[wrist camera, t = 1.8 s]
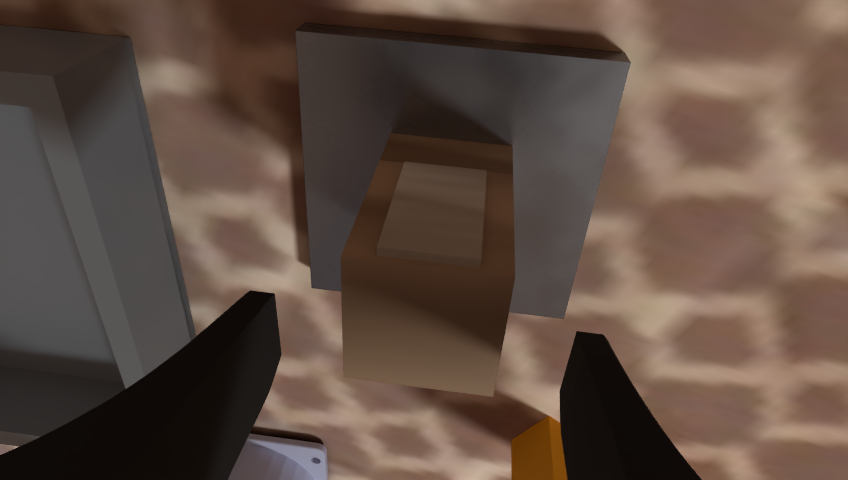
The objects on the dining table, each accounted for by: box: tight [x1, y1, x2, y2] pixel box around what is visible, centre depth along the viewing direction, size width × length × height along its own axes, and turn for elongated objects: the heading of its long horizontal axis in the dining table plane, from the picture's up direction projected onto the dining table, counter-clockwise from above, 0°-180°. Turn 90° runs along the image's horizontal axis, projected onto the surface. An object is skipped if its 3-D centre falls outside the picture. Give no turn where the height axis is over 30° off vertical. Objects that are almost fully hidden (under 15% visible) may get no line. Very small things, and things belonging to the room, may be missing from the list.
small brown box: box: [340, 133, 515, 397], centre depth 17 cm, size 4×4×7 cm
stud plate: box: [295, 23, 631, 319], centre depth 20 cm, size 10×10×3 cm
